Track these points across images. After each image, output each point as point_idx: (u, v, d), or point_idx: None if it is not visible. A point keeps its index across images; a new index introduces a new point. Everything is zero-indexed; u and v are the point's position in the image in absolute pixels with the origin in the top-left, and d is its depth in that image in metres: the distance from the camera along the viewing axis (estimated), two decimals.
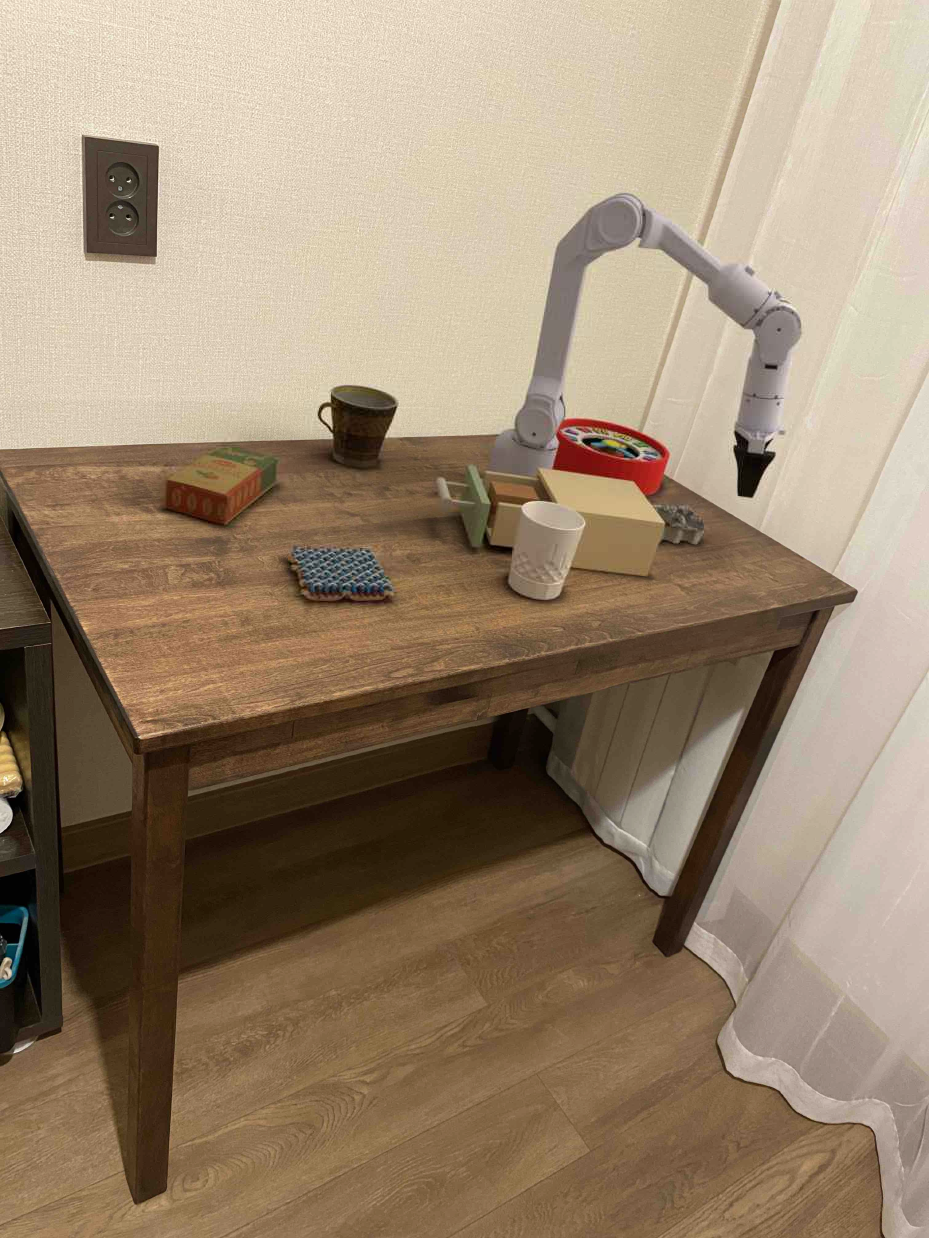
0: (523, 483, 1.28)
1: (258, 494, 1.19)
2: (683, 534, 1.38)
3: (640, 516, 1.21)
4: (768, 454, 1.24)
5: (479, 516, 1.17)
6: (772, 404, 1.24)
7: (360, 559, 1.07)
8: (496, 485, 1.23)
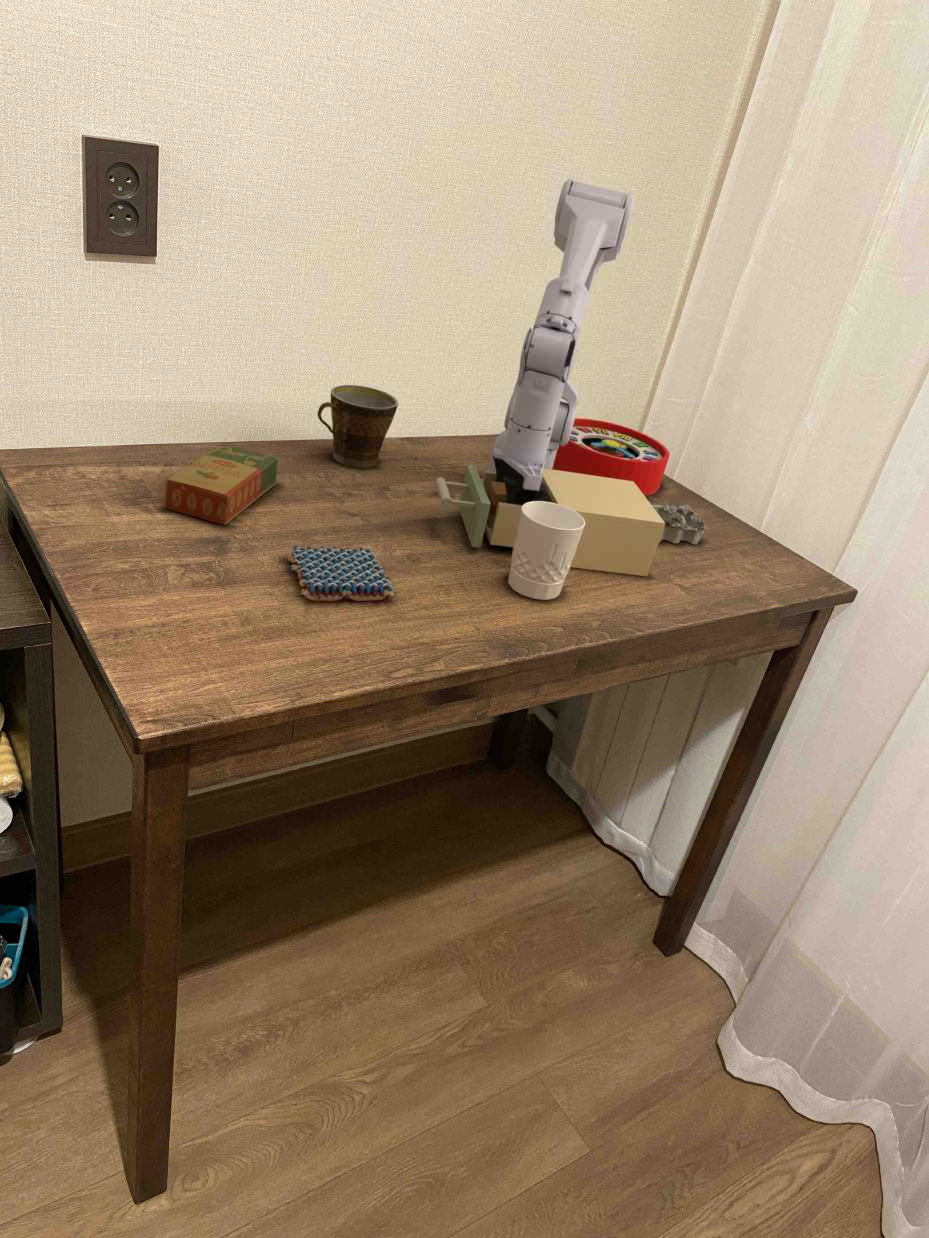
0: None
1: (259, 494, 1.19)
2: (683, 534, 1.38)
3: (640, 516, 1.21)
4: None
5: (479, 516, 1.17)
6: None
7: (360, 559, 1.07)
8: (496, 485, 1.23)
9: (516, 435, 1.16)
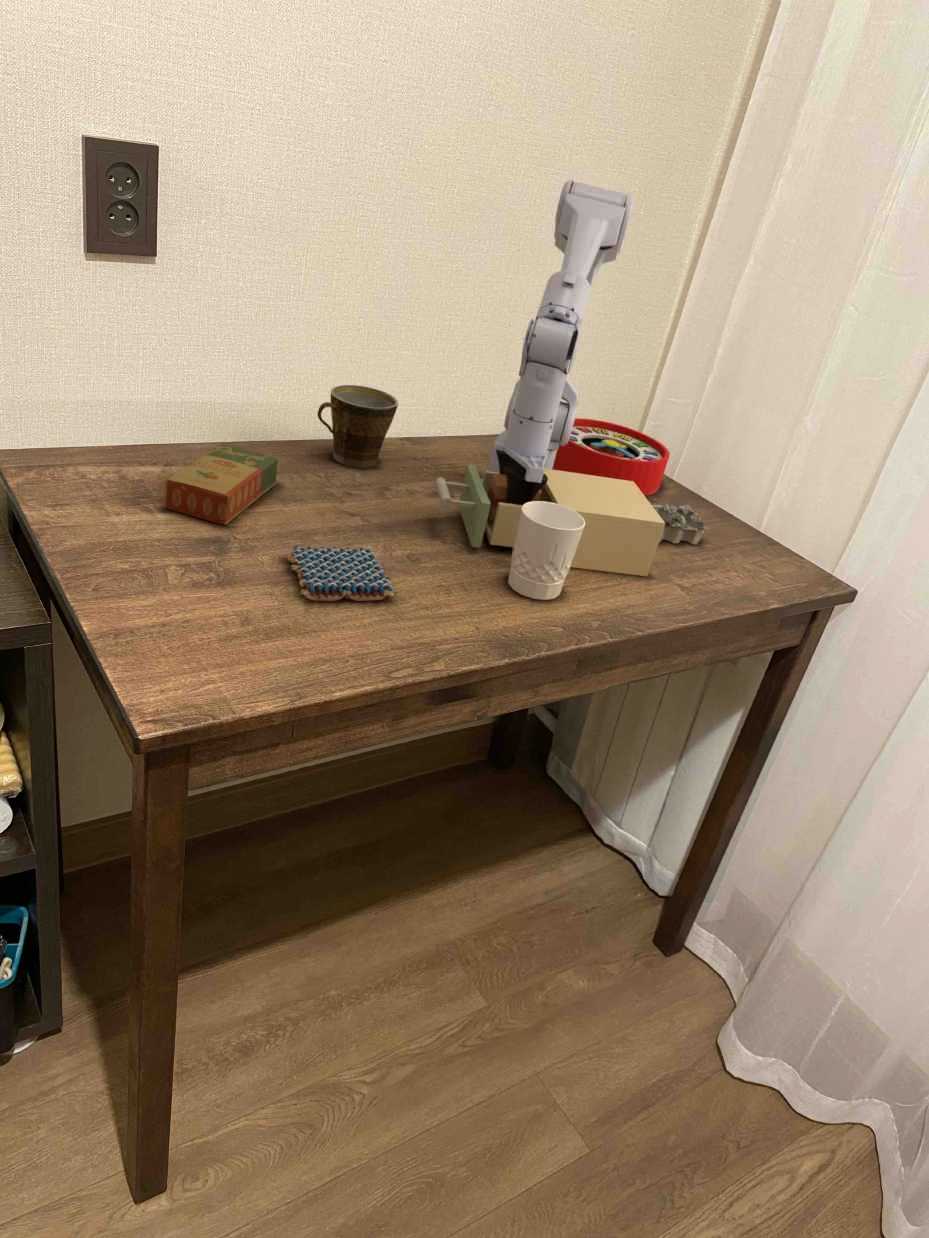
0: None
1: (259, 494, 1.19)
2: (683, 534, 1.38)
3: (640, 516, 1.21)
4: None
5: (479, 516, 1.17)
6: None
7: (360, 559, 1.07)
8: (498, 477, 1.22)
9: (518, 426, 1.16)
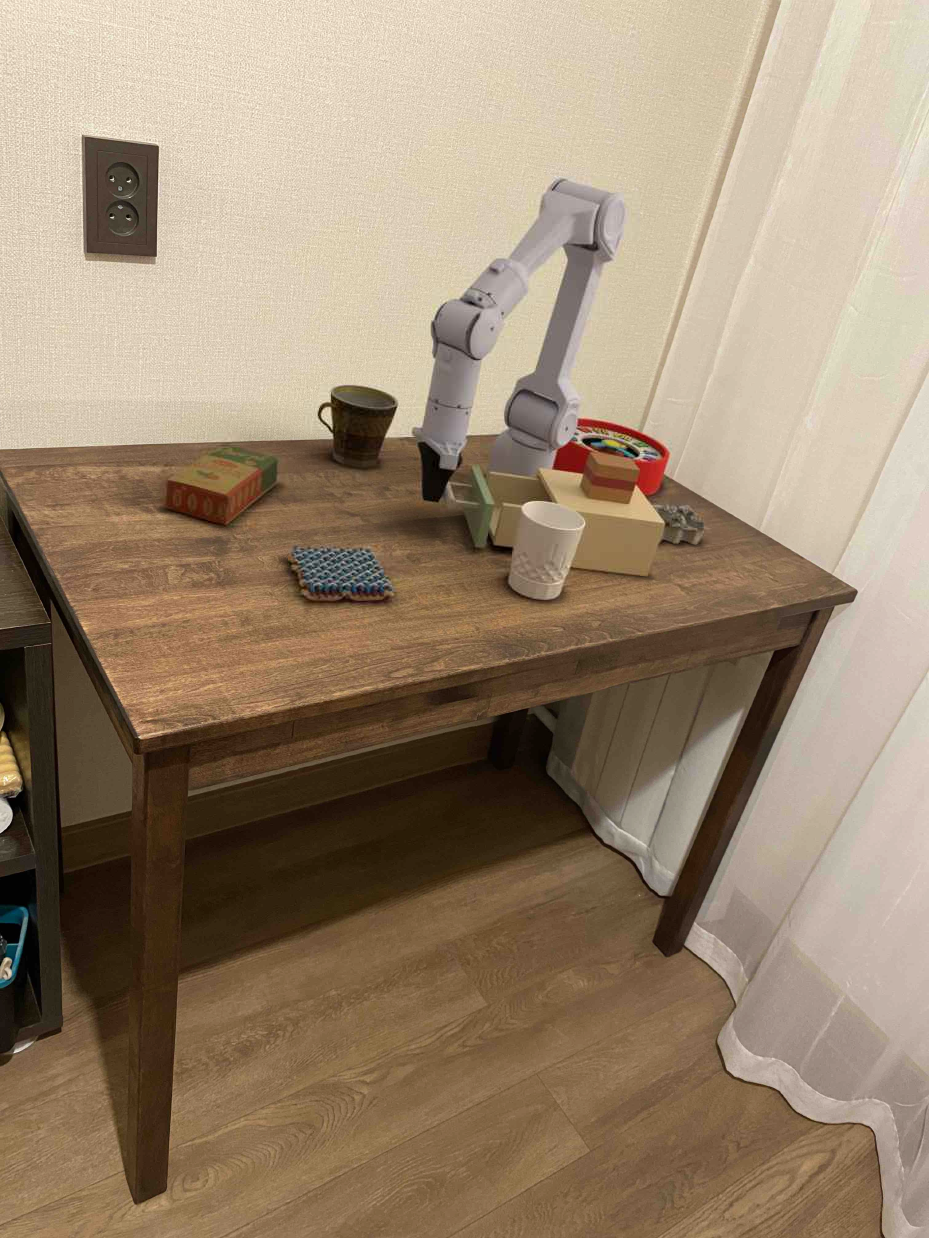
0: (527, 484, 1.28)
1: (259, 494, 1.19)
2: (683, 534, 1.38)
3: (640, 516, 1.21)
4: (424, 443, 1.19)
5: (483, 517, 1.17)
6: None
7: (360, 559, 1.07)
8: (596, 456, 1.22)
9: (433, 413, 1.13)
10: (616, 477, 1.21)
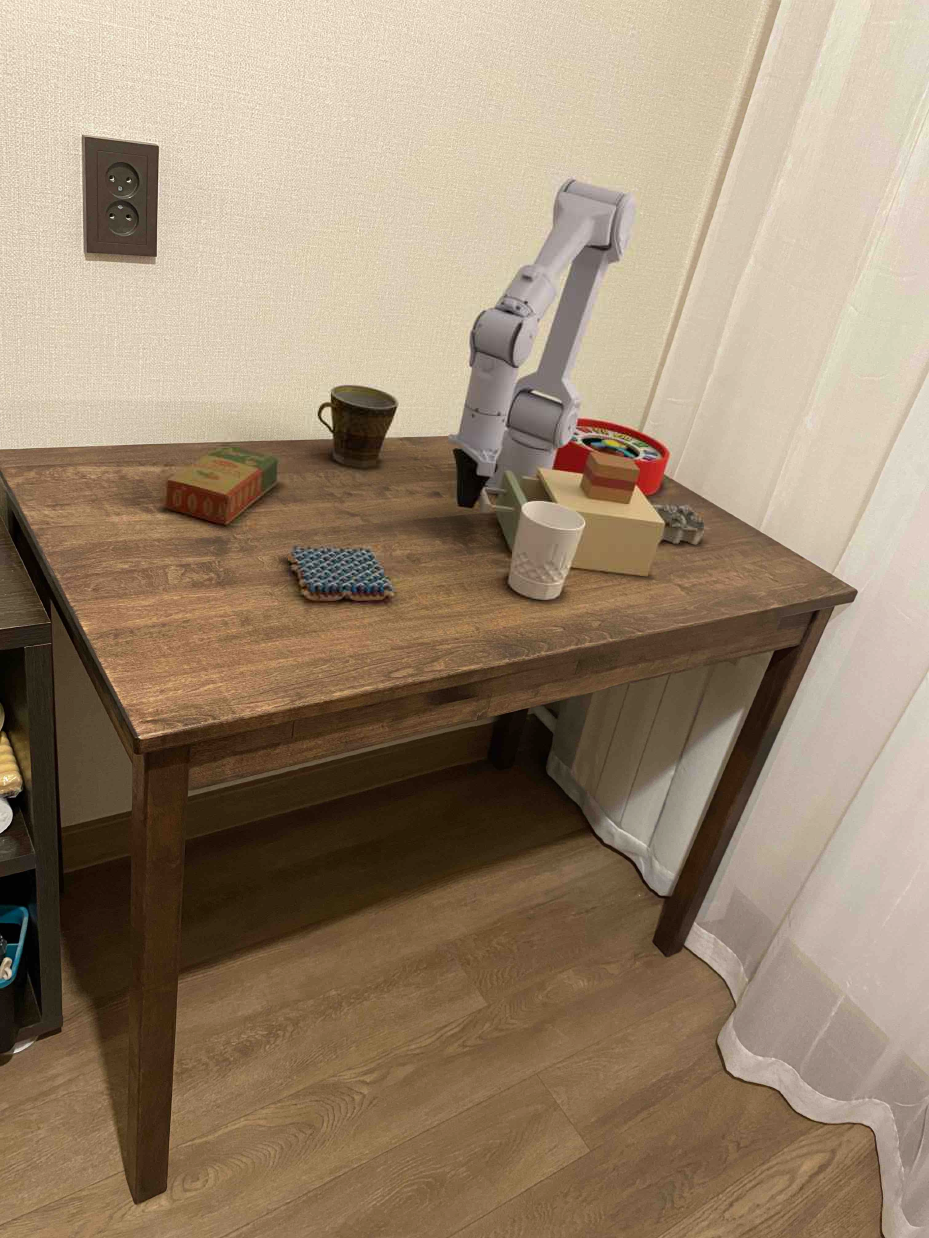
0: None
1: (259, 494, 1.19)
2: (683, 534, 1.38)
3: (640, 516, 1.21)
4: (459, 449, 1.21)
5: None
6: None
7: (360, 559, 1.07)
8: (596, 456, 1.22)
9: (470, 420, 1.15)
10: (616, 477, 1.21)
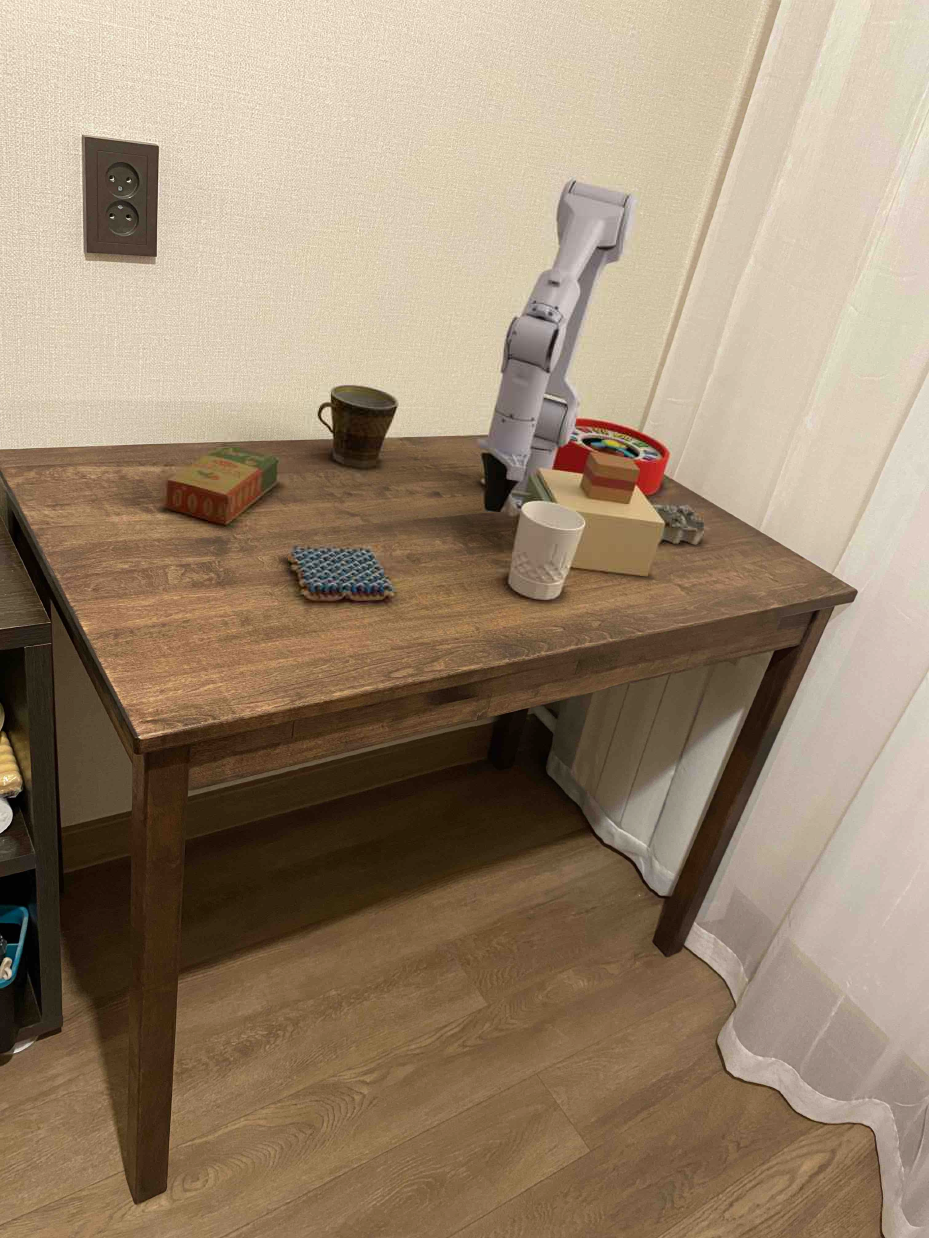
0: None
1: (259, 494, 1.19)
2: (683, 534, 1.38)
3: (640, 516, 1.21)
4: (488, 454, 1.22)
5: None
6: None
7: (360, 559, 1.07)
8: (596, 456, 1.22)
9: (500, 425, 1.15)
10: (616, 477, 1.21)
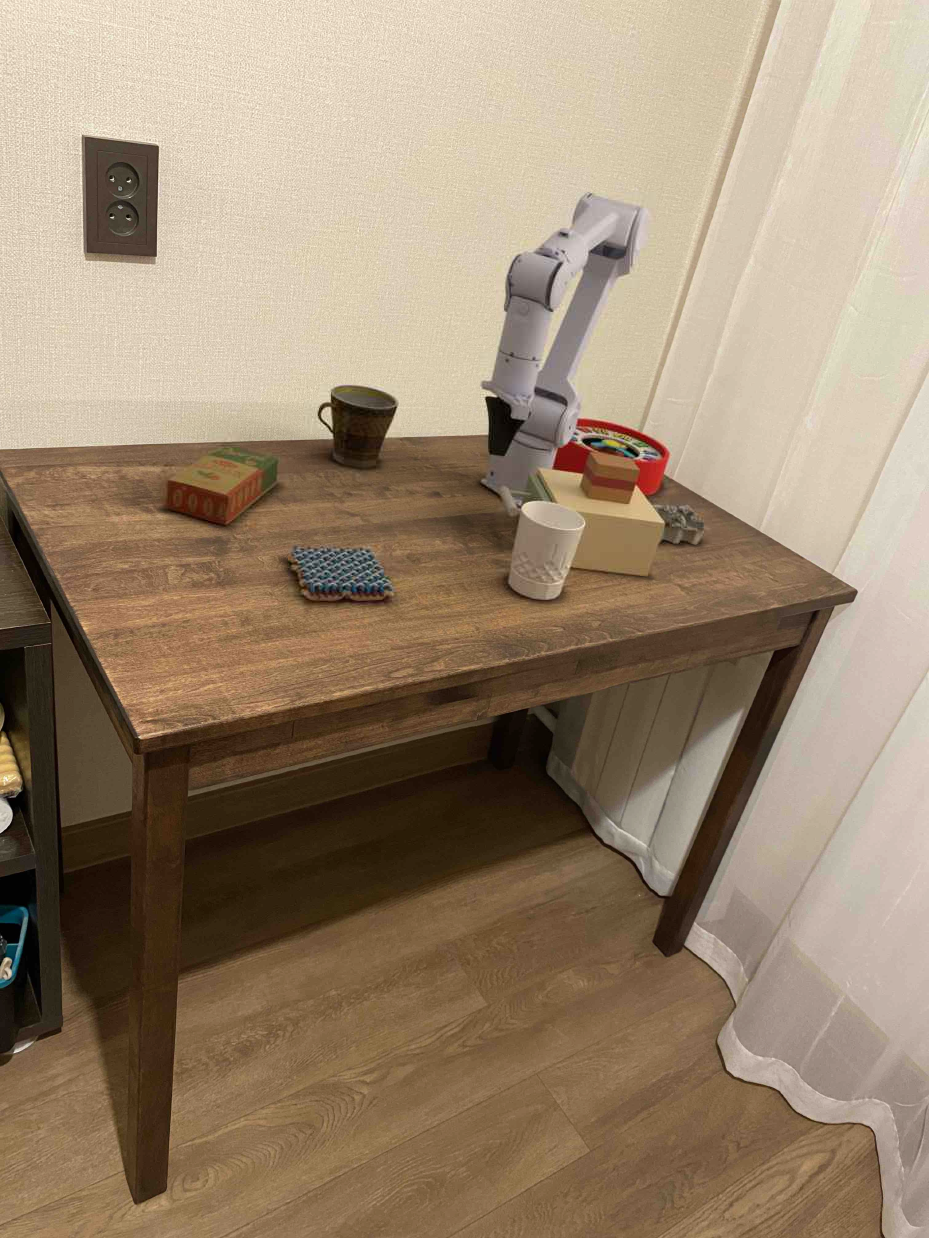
0: None
1: (259, 494, 1.19)
2: (683, 534, 1.38)
3: (640, 516, 1.21)
4: (491, 397, 1.21)
5: None
6: None
7: (360, 559, 1.07)
8: (596, 456, 1.22)
9: (504, 364, 1.15)
10: (616, 477, 1.21)
